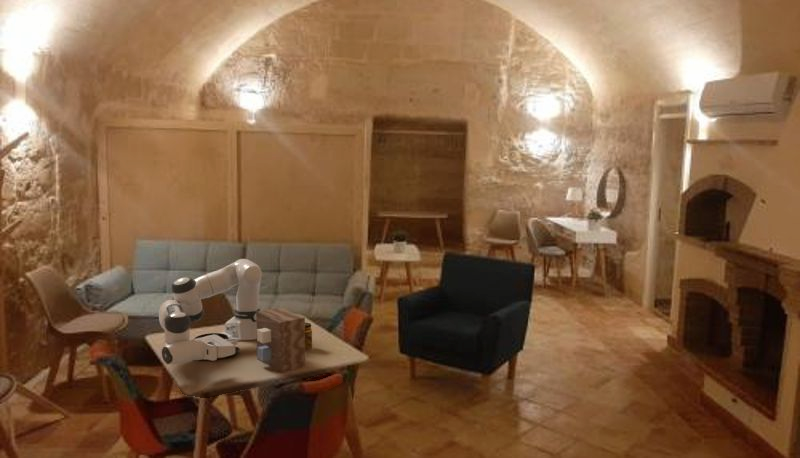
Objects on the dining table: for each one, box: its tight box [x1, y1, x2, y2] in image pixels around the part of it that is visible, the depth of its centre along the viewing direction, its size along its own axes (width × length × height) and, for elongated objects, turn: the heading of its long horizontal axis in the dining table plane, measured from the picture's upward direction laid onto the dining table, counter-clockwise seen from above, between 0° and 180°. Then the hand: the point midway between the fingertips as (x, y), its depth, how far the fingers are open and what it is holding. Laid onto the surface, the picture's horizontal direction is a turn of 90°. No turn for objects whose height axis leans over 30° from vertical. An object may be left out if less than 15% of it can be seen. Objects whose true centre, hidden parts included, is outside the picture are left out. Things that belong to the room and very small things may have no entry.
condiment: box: [305, 322, 316, 352], centre depth 298 cm, size 7×8×12 cm
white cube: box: [256, 328, 271, 343], centre depth 273 cm, size 5×5×5 cm
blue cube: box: [256, 345, 272, 362], centre depth 274 cm, size 5×5×5 cm
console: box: [256, 307, 306, 373], centre depth 278 cm, size 12×22×22 cm, turn 39°
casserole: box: [194, 332, 240, 356], centre depth 288 cm, size 25×19×8 cm
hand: (236, 341), depth 264 cm, fingers closed
